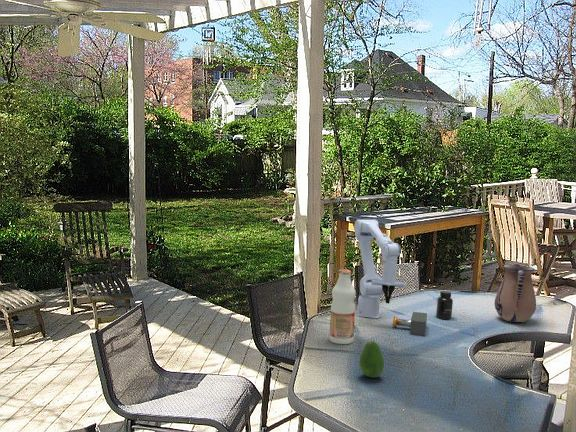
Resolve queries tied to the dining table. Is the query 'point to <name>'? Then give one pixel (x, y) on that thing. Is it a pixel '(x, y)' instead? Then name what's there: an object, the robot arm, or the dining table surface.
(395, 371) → the dining table surface
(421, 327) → the hitch beam
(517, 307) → the ceramic pitcher
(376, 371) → the avocado
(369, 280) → the robot arm
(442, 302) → the supplement bottle
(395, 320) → the lynch pin
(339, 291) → the fruit juice
